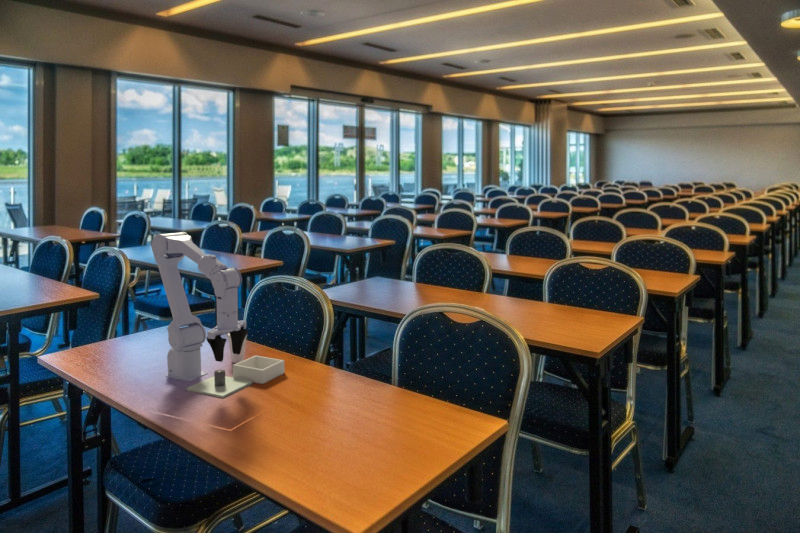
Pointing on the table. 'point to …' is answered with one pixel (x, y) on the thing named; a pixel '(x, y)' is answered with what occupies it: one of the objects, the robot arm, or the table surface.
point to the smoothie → (237, 357)
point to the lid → (219, 385)
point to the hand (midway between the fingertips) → (228, 357)
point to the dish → (258, 369)
